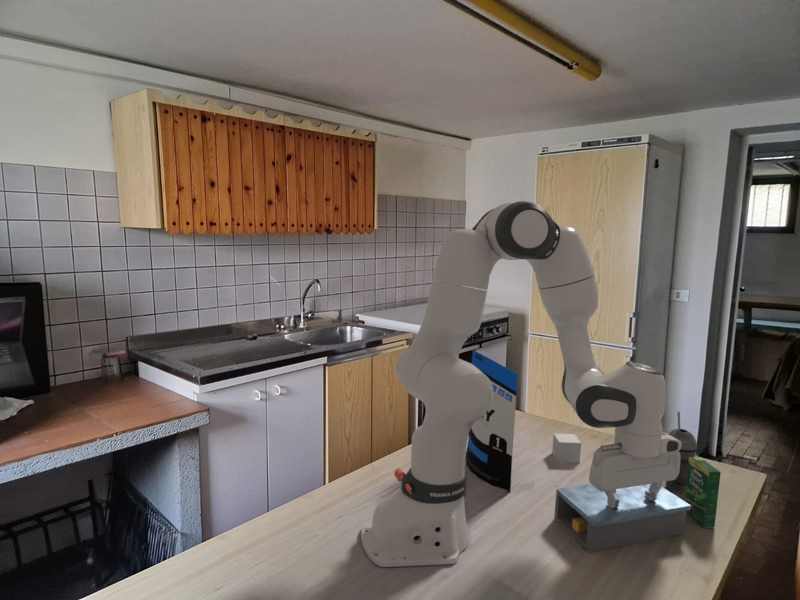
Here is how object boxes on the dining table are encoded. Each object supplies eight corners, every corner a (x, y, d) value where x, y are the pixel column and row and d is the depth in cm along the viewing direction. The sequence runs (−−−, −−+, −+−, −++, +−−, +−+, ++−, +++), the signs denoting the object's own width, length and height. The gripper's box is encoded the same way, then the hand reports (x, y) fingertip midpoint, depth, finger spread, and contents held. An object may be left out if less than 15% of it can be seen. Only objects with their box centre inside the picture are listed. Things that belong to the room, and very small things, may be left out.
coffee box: (682, 507, 119) (688, 455, 118) (694, 508, 119) (700, 455, 118) (702, 528, 111) (708, 471, 110) (715, 528, 111) (722, 472, 110)
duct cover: (594, 526, 100) (594, 522, 100) (556, 493, 113) (556, 489, 112) (690, 509, 107) (691, 505, 107) (644, 479, 120) (645, 476, 119)
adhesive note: (552, 453, 147) (553, 433, 146) (572, 453, 147) (574, 434, 146) (557, 462, 141) (559, 442, 140) (579, 463, 141) (581, 442, 140)
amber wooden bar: (577, 532, 107) (578, 523, 107) (572, 527, 109) (572, 518, 109) (662, 517, 113) (663, 509, 113) (655, 512, 115) (656, 504, 115)
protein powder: (482, 448, 149) (487, 348, 144) (527, 490, 126) (534, 372, 122) (452, 452, 146) (457, 350, 142) (492, 495, 123) (499, 375, 119)
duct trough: (588, 552, 102) (591, 524, 101) (554, 519, 113) (556, 494, 113) (683, 534, 109) (686, 507, 108) (642, 504, 120) (644, 480, 120)
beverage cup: (691, 499, 123) (700, 420, 120) (658, 490, 127) (666, 414, 124) (693, 486, 129) (701, 411, 127) (661, 478, 133) (668, 405, 130)
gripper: (605, 453, 99) (600, 518, 101) (688, 441, 105) (681, 503, 107) (585, 440, 105) (580, 502, 107) (664, 430, 111) (658, 489, 113)
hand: (631, 503), depth 107 cm, fingers open, 8 cm apart
